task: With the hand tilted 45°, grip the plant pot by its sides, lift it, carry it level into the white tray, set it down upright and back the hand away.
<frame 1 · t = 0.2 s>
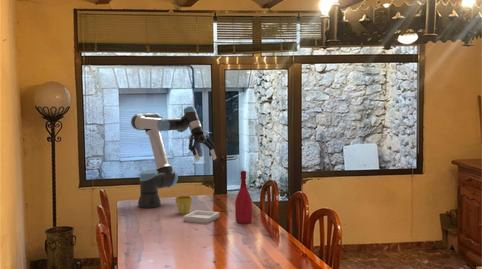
hand: (206, 159, 316), 34 cm above the table, tool tilted 30°, fingers open, 13 cm apart
plant pot: (184, 212, 325), on the table
white tray: (201, 219, 308), on the table
wine bottle: (243, 222, 300), on the table
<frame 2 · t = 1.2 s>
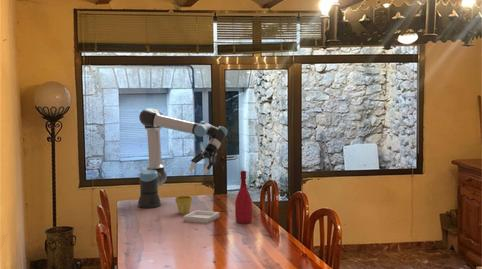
hand: (196, 172, 331), 24 cm above the table, tool tilted 45°, fingers open, 13 cm apart
nothing on the table moved.
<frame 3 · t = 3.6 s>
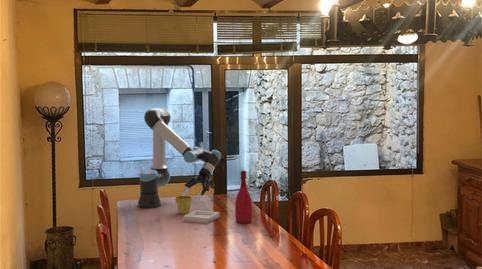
hand: (190, 197, 327), 9 cm above the table, tool tilted 45°, fingers open, 13 cm apart
nothing on the table moved.
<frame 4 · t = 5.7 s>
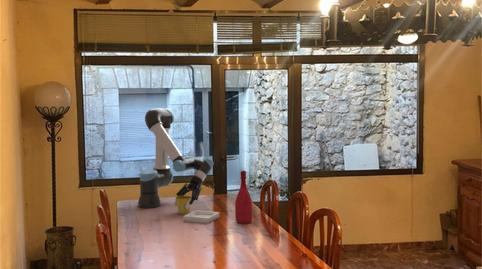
hand: (180, 206, 323), 4 cm above the table, tool tilted 45°, fingers closed on plant pot, 10 cm apart
plant pot: (184, 212, 325), on the table, touching gripper
everything else where it was.
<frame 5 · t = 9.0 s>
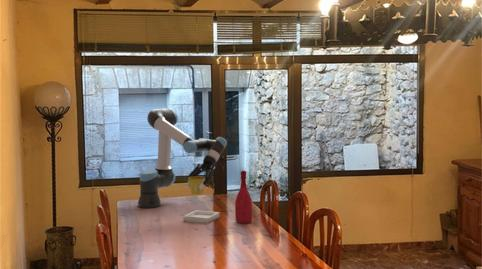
hand: (193, 187, 310), 18 cm above the table, tool tilted 45°, fingers closed on plant pot, 10 cm apart
plant pot: (197, 193, 312), point 14 cm above the table, touching gripper
everything else where it was.
when the fingers open (6 cm above the table, at t = 12.7 s): plant pot drops 1 cm, resting on white tray.
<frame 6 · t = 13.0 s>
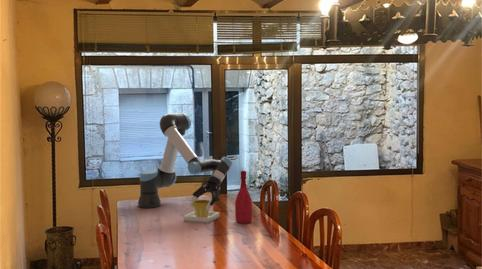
hand: (198, 207, 305), 7 cm above the table, tool tilted 45°, fingers open, 13 cm apart
plant pot: (202, 217, 307), point 1 cm above the table, touching white tray
everything else where it was.
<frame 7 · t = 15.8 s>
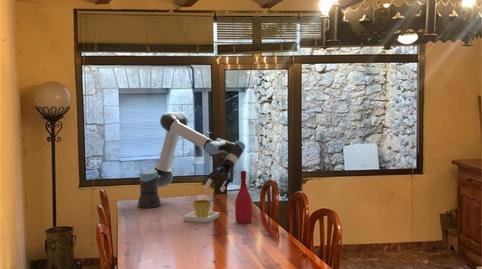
hand: (213, 189, 314), 16 cm above the table, tool tilted 45°, fingers open, 13 cm apart
nothing on the table moved.
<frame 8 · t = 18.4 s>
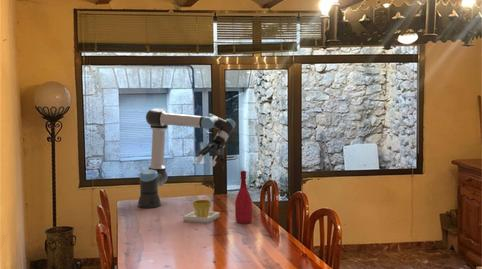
hand: (204, 164, 328), 30 cm above the table, tool tilted 45°, fingers open, 13 cm apart
nothing on the table moved.
at the end: plant pot inside the target area on the white tray (0.3 cm from its centre), point 0.8 cm above the white tray's base; plant pot tilted 0°; the gripper is holding nothing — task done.
